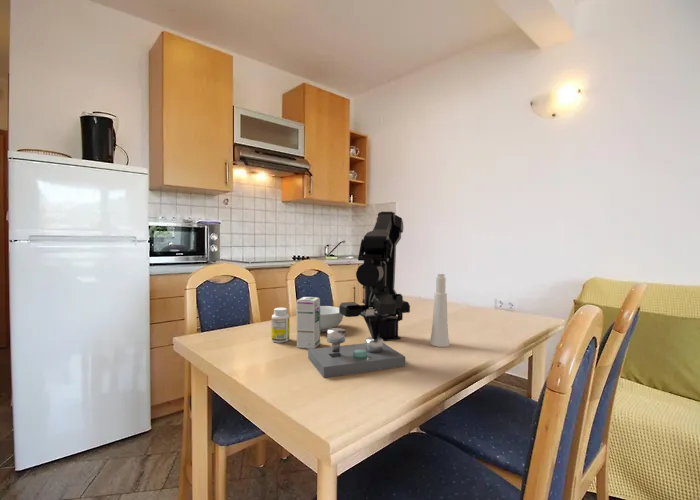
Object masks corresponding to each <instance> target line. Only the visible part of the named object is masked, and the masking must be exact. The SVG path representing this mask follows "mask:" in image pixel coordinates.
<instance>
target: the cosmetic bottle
mask: <svg viewBox="0 0 700 500" xmlns="http://www.w3.org/2000/svg"><path fill="white" fill-rule="evenodd" d="M445 276H446V274H445V273H437V276H436V280H435V282H436V283H435V292H434V298H433V313H432V324H431V326H432V327H431V333H430V341H429V344H430V345H431V346H432V347H437V348H445V347H449V346H450V345H451V344H450V339H449V338H450V337H449V328H448V325H449V324H448V297H447V295H448V293H446V282H447V281H446V277H445Z"/></svg>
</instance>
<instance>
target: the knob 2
mask: <svg viewBox="0 0 700 500" xmlns="http://www.w3.org/2000/svg"><path fill="white" fill-rule="evenodd" d="M365 343H366V350H367V351H369V352H371V353H377V352H381V351H383V343H384V340H383V339H382V338H379V337H377V340H373V339H372V336H369V337H366V339H365Z"/></svg>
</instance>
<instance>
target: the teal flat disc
mask: <svg viewBox="0 0 700 500" xmlns="http://www.w3.org/2000/svg"><path fill="white" fill-rule="evenodd" d="M353 357H354V358H357V359H364V358H367V351H365V350H354V351H353Z"/></svg>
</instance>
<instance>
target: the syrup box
mask: <svg viewBox="0 0 700 500" xmlns="http://www.w3.org/2000/svg"><path fill="white" fill-rule="evenodd" d="M320 306H321V298H320V297H316V296H303V297H301V298H299V299H297V300H296V310H297V317H296V348H297V349H307V350H308V349H316V348H318V346H319V345H320V344H321V332H320Z"/></svg>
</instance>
